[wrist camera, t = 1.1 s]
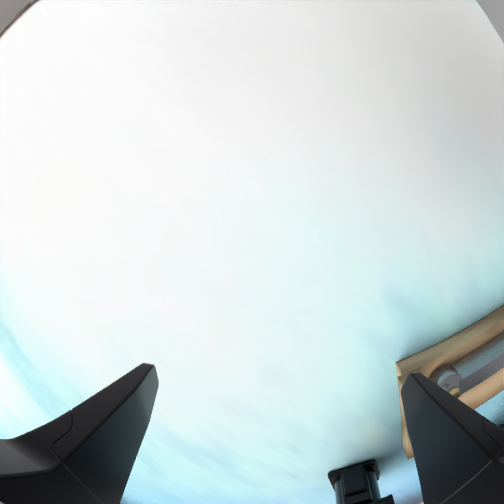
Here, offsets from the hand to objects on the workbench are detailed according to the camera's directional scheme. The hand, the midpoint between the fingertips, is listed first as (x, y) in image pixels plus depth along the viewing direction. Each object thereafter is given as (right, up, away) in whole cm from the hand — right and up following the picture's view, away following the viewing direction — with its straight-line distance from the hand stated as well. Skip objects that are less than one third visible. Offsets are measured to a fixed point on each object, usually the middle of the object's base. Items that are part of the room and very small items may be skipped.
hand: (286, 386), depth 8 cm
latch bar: (+20, -6, +11) cm, 24 cm away
